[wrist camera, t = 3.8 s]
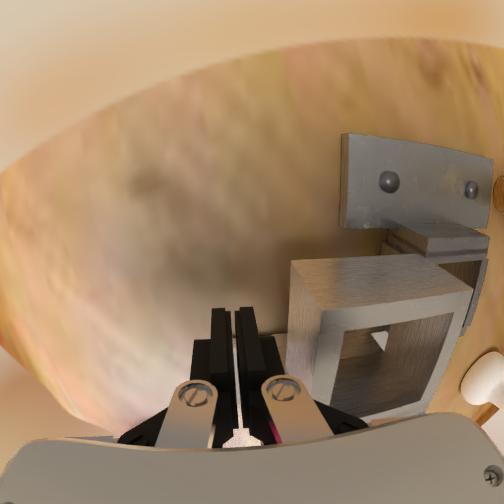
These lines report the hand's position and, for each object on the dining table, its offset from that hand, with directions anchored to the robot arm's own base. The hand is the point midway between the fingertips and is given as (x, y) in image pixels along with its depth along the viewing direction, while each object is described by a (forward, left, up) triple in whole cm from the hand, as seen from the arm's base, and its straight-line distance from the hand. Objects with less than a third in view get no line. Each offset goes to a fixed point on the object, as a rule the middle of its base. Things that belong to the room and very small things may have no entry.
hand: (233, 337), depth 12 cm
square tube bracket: (-6, +3, -5) cm, 8 cm away
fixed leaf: (-12, -3, -5) cm, 13 cm away
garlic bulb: (-26, +13, -5) cm, 30 cm away
